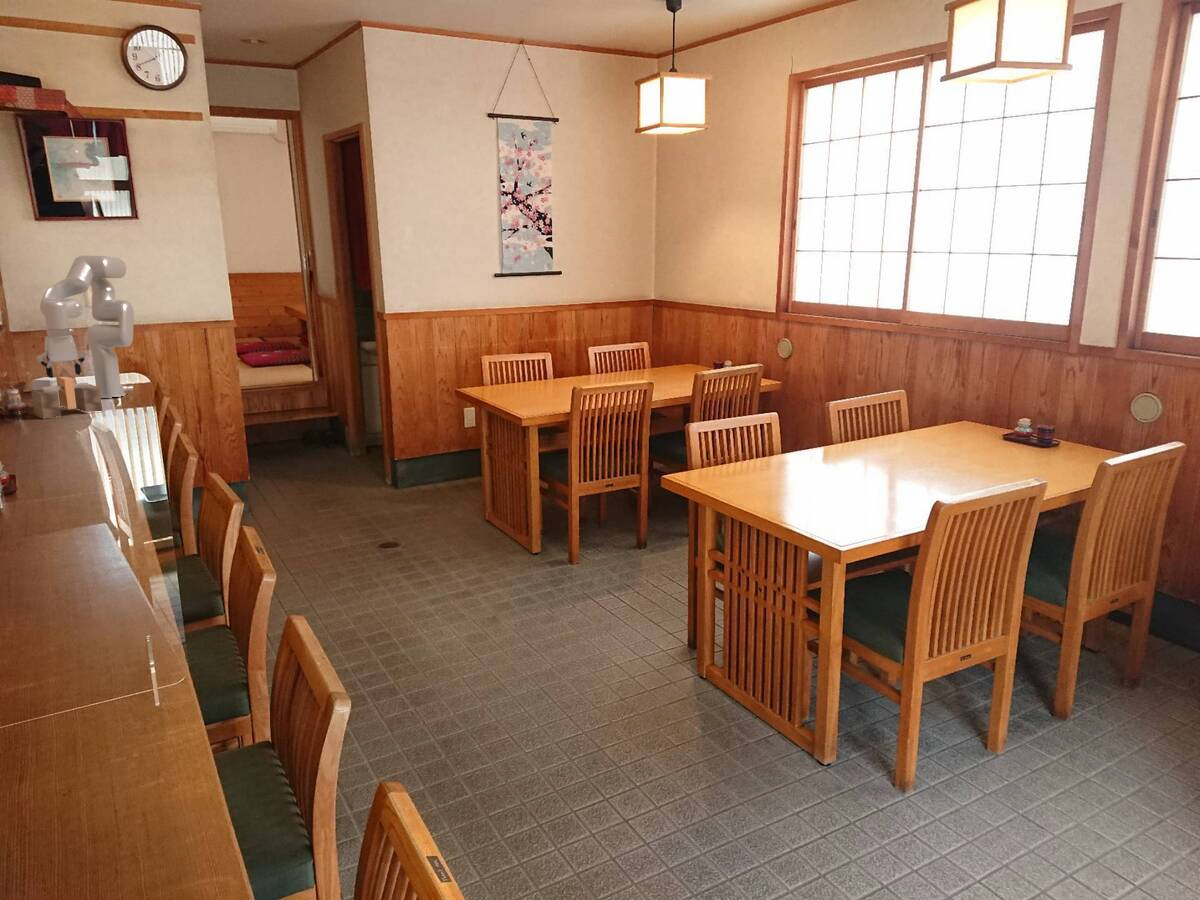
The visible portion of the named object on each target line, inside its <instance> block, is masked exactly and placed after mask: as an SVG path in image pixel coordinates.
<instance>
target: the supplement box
mask: <svg viewBox="0 0 1200 900" xmlns="http://www.w3.org/2000/svg"><path fill="white" fill-rule="evenodd" d="M56 377H57V376H55V377H54V376H53V378H50V377H48V376H47V377H46V376H43V377H40V378H36V379H32V390H39V389H42V387H48V386H57V379H56ZM55 391H56V392H58V390H55ZM58 397H59V394H58ZM59 405H60V402H59ZM60 407H61V406H60Z"/></svg>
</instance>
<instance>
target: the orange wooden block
mask: <svg viewBox="0 0 1200 900" xmlns="http://www.w3.org/2000/svg"><path fill="white" fill-rule="evenodd" d="M55 377H56V379H57V386H58V385H61V386H64V390H58V394H59V402H60V406H61V407H63V406H64V407H66V410H74V409H75V410H76V400H75V392H74V384H75V383H74V379H73V378H72V377H70V376H69V377H68V376H66V375H62V376H60V375H59V376H55Z"/></svg>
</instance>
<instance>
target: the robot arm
mask: <svg viewBox="0 0 1200 900" xmlns="http://www.w3.org/2000/svg"><path fill="white" fill-rule="evenodd" d="M126 274H127V265H126V263H125V261H124V260H123V259H121V258H119V257H112V256H106V255H78V256H77V257H76V258H75V259H74V260H73V262H72V265H71V266H70V268H69V271H68V272H67V275H66V277H65V278H64V279H62V280H59V281H58V282H56V283H55V284H52V285H51V286H49V288H47V290H46V291H44V294H43V296H42V298H41V301H40V304H39V310H40V312H41V314H42V315H43V316H44V320H45V326H46V327H45V328H46V334H47V336H44V352H43V353H41V354H39V355H37V356H36V360H37V362H39V364H40V365H42V366H43V367H44V368H45V372H46V376H47V377H50V378H53V377H54V373H53V372H54V371H53V368H52V365H53V364H54V363H66V362H73V363H74V364H73V365H74V371H75V375H77V376H80V375H81V373H82V367H81V365H82V363H83V362H84V361H85V360H86V356H87V353H86V352H84V351H81V350H78V349H77V347H76V342H75V341H74V337H73V335H71V333H75V332H74V330H75V329H74V328H70V325H69V324H70V323H69V319H70V318H71V319H74V318H79V317H80V316H81V315H82V313H83V311H84V306H83V304H82V302H81V301H79V300H78V299H75V298H69V297H74V296H78V295H80V294H84V293H86V292H87V291H88V290H89V288H90V287H91V295H92V296H91V316H92V318H93V319H94V320H95V321H97V322H101V324H98V323H97V324H93V325H91V326H89V327H88V328H87V330H86V337H87V341H88V343H89V347H90V351H91V357H92V366H93V372H94V373H93V374H94V380H95V386H96V387H99V388H100V395H101V398H109V399H111V398H110V397H119V398H122V397H121V396H123V397H125V396H126V395H127V394H126V391H134V387H133V385H123V384H121V376H120V367H119V366H120V365H119V358H118V355H117V353H116V351H115V350H114V349H113V348H114V347H115V348H116V347H117V348H126V347H127V348H128V347H130V346H131V345H132V343H133V340H134V323H135V322H134V316H135V314H134V308H133V305H132V303H130V302H129V301H127V300H123V299H122V300H121V299H115V298H116V297H115V296H116V295H115V293H116V291H115V287H114V286H113V284H112V282H110V281H109V279H121V278H123V277H125V275H126ZM102 322H104V324H102ZM105 323H106V324H105ZM107 323H118V324H107ZM78 355H80V357H79V358H78ZM44 358H45V360H46V362H45V361H44V360H43V359H44Z"/></svg>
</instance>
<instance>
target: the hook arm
mask: <svg viewBox="0 0 1200 900" xmlns="http://www.w3.org/2000/svg"><path fill="white" fill-rule="evenodd" d="M73 384H74V388H83V387H89V384H90V383H89V382H80V383H73ZM55 390H64V386H61V385H58V386H48V387H42V391H43V392H46V391H55Z"/></svg>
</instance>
